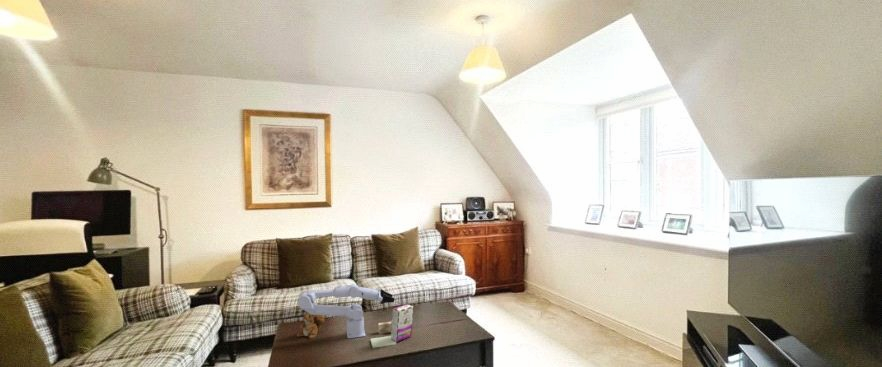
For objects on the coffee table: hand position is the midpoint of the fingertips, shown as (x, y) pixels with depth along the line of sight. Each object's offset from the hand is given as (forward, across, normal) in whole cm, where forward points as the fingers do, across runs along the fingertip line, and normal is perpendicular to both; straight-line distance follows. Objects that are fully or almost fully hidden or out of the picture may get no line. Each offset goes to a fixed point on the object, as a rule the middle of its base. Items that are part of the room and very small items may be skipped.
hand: (393, 298), depth 214 cm
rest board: (-2, -14, +20) cm, 24 cm away
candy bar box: (+7, -13, +17) cm, 22 cm away
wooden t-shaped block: (0, -1, +19) cm, 19 cm away
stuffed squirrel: (-38, +10, +30) cm, 49 cm away
